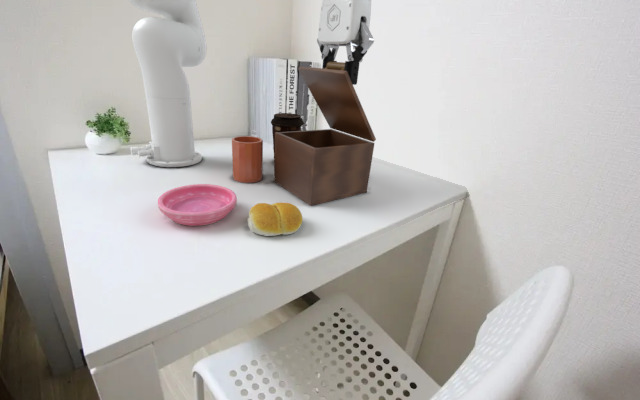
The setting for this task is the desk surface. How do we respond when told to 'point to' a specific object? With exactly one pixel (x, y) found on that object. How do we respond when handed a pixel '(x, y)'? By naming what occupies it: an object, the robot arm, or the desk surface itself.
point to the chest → (322, 164)
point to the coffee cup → (285, 124)
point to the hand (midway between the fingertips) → (338, 81)
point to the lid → (337, 99)
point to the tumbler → (247, 159)
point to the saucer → (197, 204)
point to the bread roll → (274, 219)
